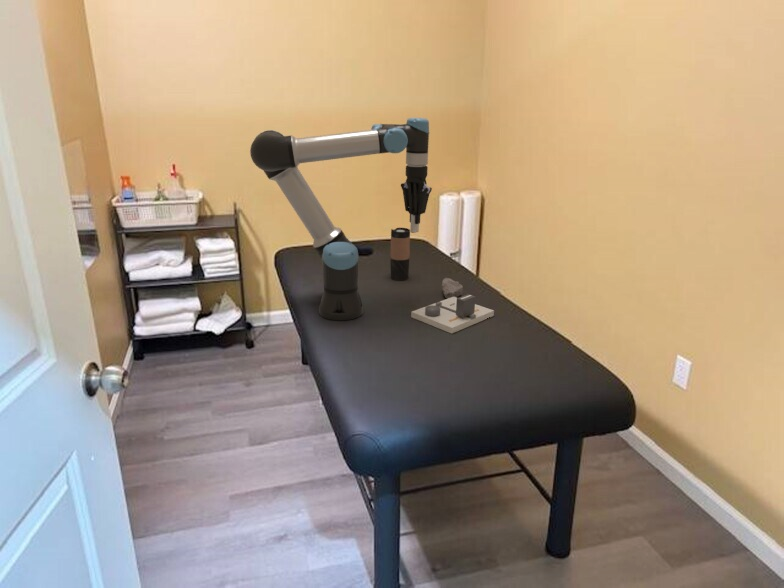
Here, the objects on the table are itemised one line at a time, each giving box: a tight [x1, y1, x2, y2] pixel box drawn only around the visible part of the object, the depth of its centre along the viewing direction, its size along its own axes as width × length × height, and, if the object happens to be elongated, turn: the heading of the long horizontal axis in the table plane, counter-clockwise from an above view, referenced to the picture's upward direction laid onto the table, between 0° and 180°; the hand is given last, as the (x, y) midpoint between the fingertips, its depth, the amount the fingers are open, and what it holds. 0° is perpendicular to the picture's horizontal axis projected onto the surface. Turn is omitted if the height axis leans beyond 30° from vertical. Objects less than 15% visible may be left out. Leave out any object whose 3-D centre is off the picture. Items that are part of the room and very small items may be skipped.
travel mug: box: [389, 227, 411, 282], centre depth 229 cm, size 8×8×20 cm
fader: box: [456, 293, 476, 318], centre depth 189 cm, size 6×3×6 cm, turn 134°
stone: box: [441, 277, 464, 299], centre depth 213 cm, size 8×10×6 cm
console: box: [410, 297, 495, 334], centre depth 194 cm, size 22×18×4 cm
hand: (414, 232), depth 204 cm, fingers closed
